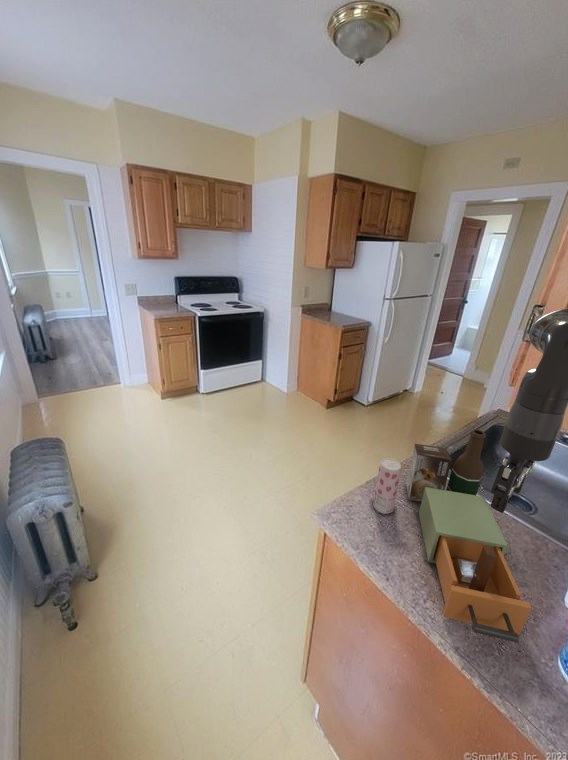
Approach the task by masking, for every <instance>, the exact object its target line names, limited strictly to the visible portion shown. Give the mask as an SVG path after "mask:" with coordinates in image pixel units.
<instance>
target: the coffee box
mask: <svg viewBox="0 0 568 760" xmlns="http://www.w3.org/2000/svg"><path fill="white" fill-rule="evenodd" d="M452 461H453V460H452V457H451V455H450V452H449V451H448V449H447V447H442V446H435V445H427V444H422V443H421V444H420V443H414V446H413V451H412V456H411V462H410V467H409V472H408V477H407V483H406V490H407V495H408V500H409V501H413V502H420V503H422V498H423V494H424V490H425V487H428V488H434V489H440V490H446V487H447V483H448V482H447V481H448V479H449V478H448V477H449V473H450V469H451V465H452Z"/></svg>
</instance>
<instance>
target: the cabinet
mask: <svg viewBox="0 0 568 760" xmlns="http://www.w3.org/2000/svg"><path fill="white" fill-rule="evenodd" d="M418 517H419V523H420V528H421V531H422V537H423V541H424V546H425V547H424V548H425V552H426V557H427V562H428V563H431V564H435V565H436V561H435V556H434V554H435V551H436V547H437V543H438V540H439V536H440V535H441V536H446V537H451V538H456V539H461V540H467V541H472V542H477V543H482V544H487V545H492V546H497V547H500V549H501V552H502V554H503V556H504V557H505V554H506V552H507V549H508V547H509V544H508V543H507V541H506V538H505V537H504V535H503V533H502V531H501V528H500V526H499V524H498V523H497V520H496V518H495V517H494V514H493V512H492V511H491V507H490V506H489V504H488V502H487V499H486V497H485V496H481V495H470V494H464V493H458V492H452V491H446V489H445V490H440V489H434V488H428V487H425V490H424V494H423V498H422V502H420V507H419V511H418Z"/></svg>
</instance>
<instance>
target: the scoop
mask: <svg viewBox="0 0 568 760" xmlns="http://www.w3.org/2000/svg"><path fill="white" fill-rule="evenodd" d="M496 558H497V556H496V554H495V551H494V549H493V547H492V546H488V545H483V548H482V551H481V554H480V557H479V560H478V562H473V561H468V560H463V559H458V558H457V560H456V563H455V570H456V574H457V577H458V581H459V583H464V584H469V585H470V586H469V588H468V589H471V590H476V591H480V592H484V590H485V587H486V584H487V582H488V579H489V576H490V574H491V571H492V568H493V566H494V563H495V560H496Z"/></svg>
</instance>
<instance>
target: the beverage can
mask: <svg viewBox="0 0 568 760" xmlns="http://www.w3.org/2000/svg"><path fill="white" fill-rule="evenodd" d="M401 472H402V465H401V463H400V462H399V461H398V460H395V459H394V458H389V457H387V458H383V459H382V460H381V461H380V463H379V466H378V472H377V479H376V485H375V490H374V496H373V501H372V505H373V508H374V509H375V510H376V511H377V512H379V513H381V514H384V515H385V514H386V515H387V514H390V513H392V512H393V511H394V508H395V503H396V498H397V493H398V488H399V483H400V478H401V474H402V473H401Z"/></svg>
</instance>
